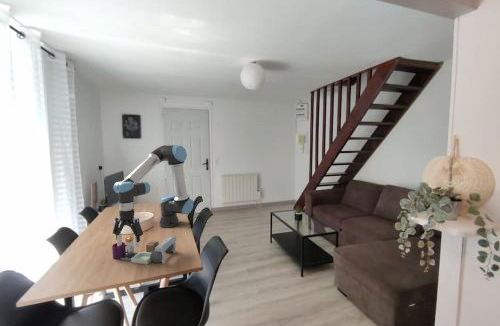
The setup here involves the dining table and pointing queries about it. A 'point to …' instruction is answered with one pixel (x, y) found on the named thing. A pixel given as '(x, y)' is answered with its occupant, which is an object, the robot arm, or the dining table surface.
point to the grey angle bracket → (163, 250)
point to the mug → (119, 250)
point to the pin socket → (128, 257)
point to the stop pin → (130, 246)
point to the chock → (151, 246)
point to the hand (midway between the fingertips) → (128, 246)
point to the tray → (142, 258)
